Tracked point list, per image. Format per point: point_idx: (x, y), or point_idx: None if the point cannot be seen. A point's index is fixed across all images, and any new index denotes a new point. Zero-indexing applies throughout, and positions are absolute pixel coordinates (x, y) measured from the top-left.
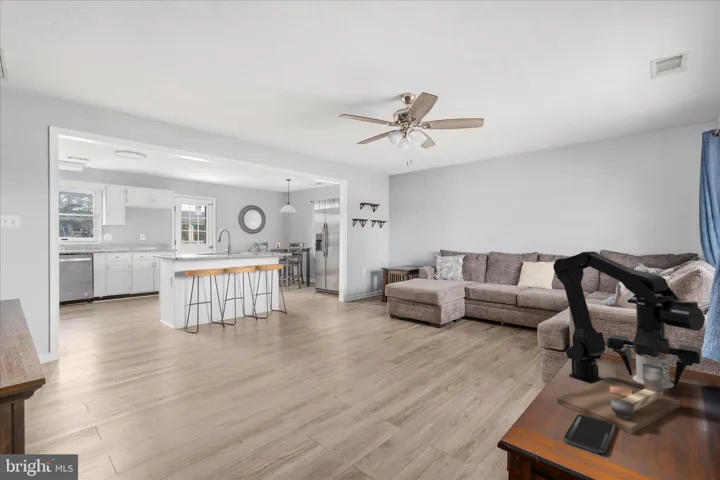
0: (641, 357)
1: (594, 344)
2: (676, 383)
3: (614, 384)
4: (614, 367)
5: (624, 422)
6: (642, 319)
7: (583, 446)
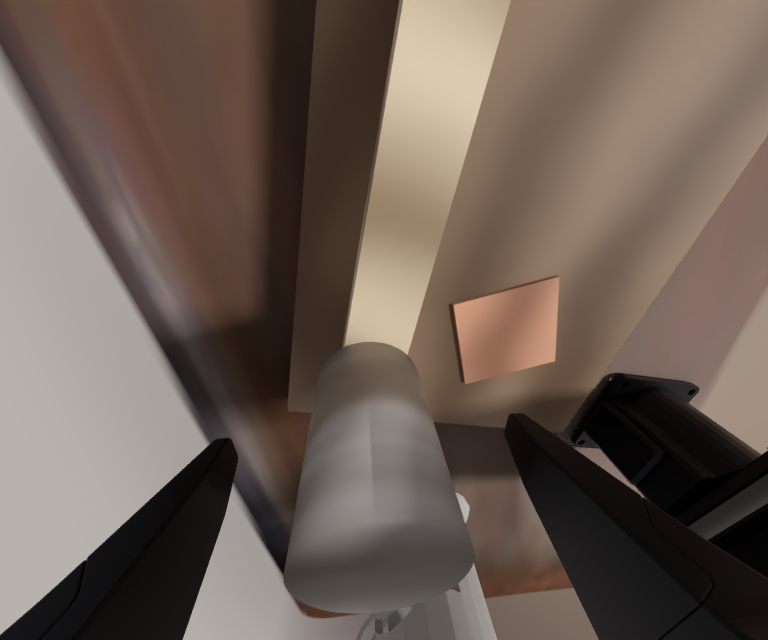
0: (473, 631)
1: None
2: (207, 450)
3: (533, 397)
4: (522, 538)
5: None
6: None
7: None
